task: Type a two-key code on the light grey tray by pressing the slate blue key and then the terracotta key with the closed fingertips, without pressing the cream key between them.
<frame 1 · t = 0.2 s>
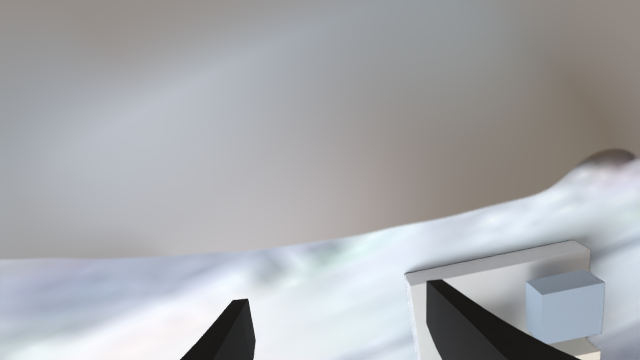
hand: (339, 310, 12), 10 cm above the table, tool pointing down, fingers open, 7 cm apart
light grey tray: (492, 340, 25), on the table
slate blue key: (563, 307, 20), point 3 cm above the table, slide at 0.0 cm
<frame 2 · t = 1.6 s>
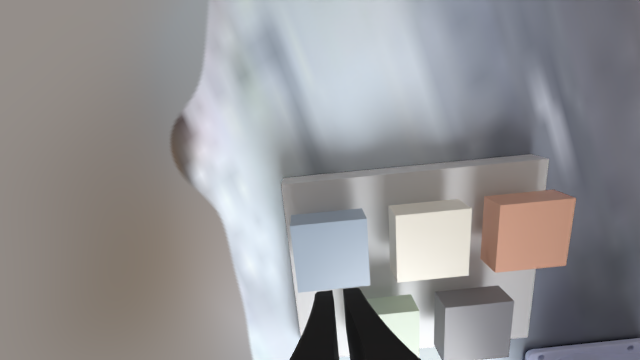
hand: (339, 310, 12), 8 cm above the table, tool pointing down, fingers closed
light grey tray: (408, 256, 21), on the table
grey key: (471, 324, 19), point 3 cm above the table, slide at 0.0 cm
sage key: (382, 333, 18), point 3 cm above the table, slide at 0.0 cm
terracotta key: (524, 230, 17), point 3 cm above the table, slide at 0.0 cm
cream key: (428, 240, 17), point 3 cm above the table, slide at 0.0 cm
slate blue key: (330, 249, 17), point 3 cm above the table, slide at 0.0 cm
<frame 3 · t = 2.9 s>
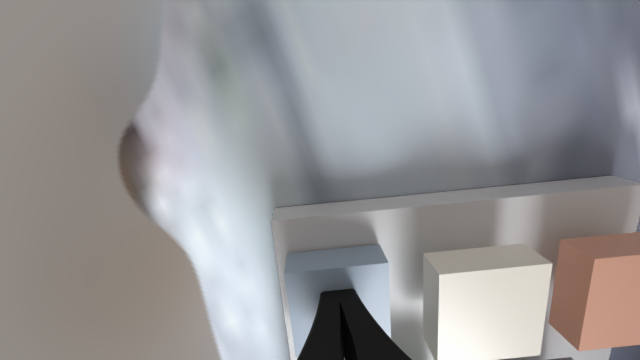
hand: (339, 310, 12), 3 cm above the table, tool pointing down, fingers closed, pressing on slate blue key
light grey tray: (441, 308, 16), on the table
terracotta key: (619, 289, 12), point 3 cm above the table, slide at 0.0 cm
cream key: (481, 303, 12), point 3 cm above the table, slide at 0.0 cm
slate blue key: (338, 300, 13), point 2 cm above the table, slide at 1.1 cm, touching gripper
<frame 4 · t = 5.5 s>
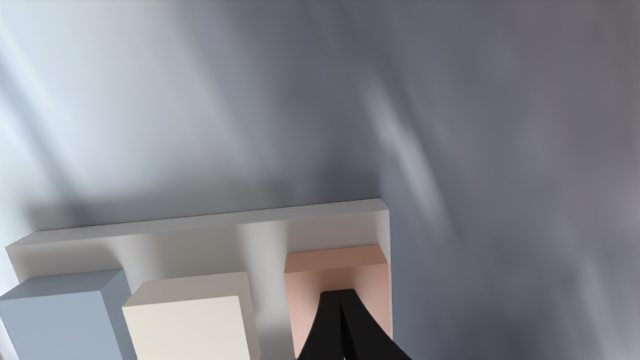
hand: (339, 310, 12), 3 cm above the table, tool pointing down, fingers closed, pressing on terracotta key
light grey tray: (233, 330, 16), on the table
terracotta key: (338, 300, 13), point 2 cm above the table, slide at 1.1 cm, touching gripper
cream key: (198, 332, 12), point 3 cm above the table, slide at 0.0 cm
slate blue key: (77, 325, 13), point 2 cm above the table, slide at 1.2 cm
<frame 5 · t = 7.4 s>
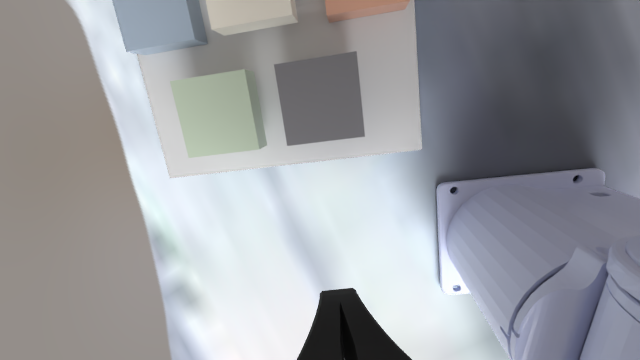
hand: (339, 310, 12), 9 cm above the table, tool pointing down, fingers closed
light grey tray: (276, 56, 18), on the table
grey key: (321, 100, 16), point 3 cm above the table, slide at 0.0 cm
sage key: (221, 115, 16), point 3 cm above the table, slide at 0.0 cm
slate blue key: (158, 8, 16), point 2 cm above the table, slide at 1.2 cm
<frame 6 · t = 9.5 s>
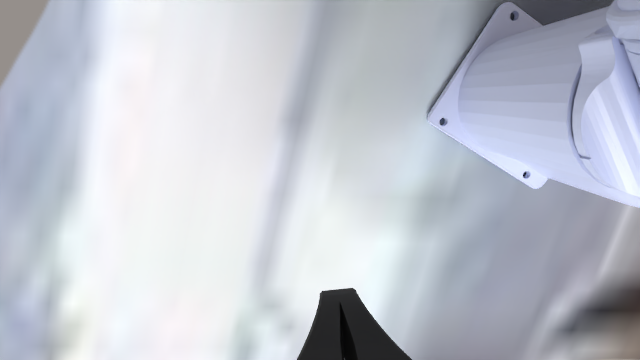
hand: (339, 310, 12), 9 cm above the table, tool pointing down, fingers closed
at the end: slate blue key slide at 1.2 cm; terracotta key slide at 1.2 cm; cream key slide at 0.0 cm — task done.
